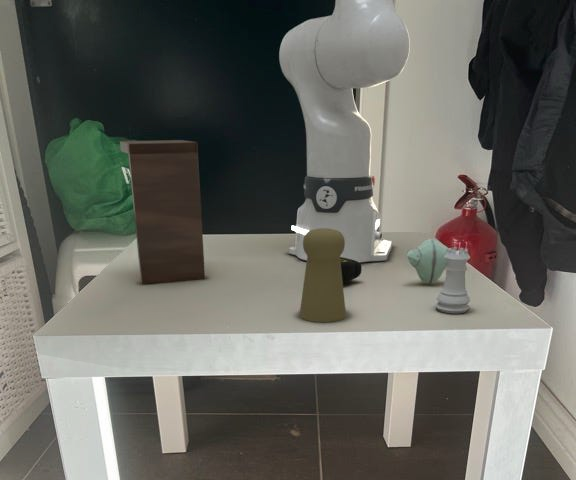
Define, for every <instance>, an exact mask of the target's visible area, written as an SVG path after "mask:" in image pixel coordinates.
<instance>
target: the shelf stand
mask: <svg viewBox="0 0 576 480" xmlns="http://www.w3.org/2000/svg"><path fill="white" fill-rule="evenodd" d="M119 146H120V147H119V148H120V152H121V153H125V154H126V155H128V164H129V174H130V184H131V186H130V187H131V194H132V195H131V196H132V205H133V216H134V225H135V227H134V228H135V237H136V247H137V257H138V258H137V259H138V268H139V278H140V283H141V285H150V284H161V283H173V282H183V281H192V280H193V281H194V280H195V281H196V280H205V279H206V272H205V271H206V270H205V255H204V237H203V235H204V233H203V220H202V217H203V216H202V202H201V201H202V200H201V186H200V185H201V183H200V168H199V167H200V166H199V148H198V142H197V141H192V140H184V139H172V140H171V139H170V140H168V139H167V140H166V139H165V140H164V139H163V140H120V141H119Z"/></svg>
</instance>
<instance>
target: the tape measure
mask: <svg viewBox="0 0 576 480" xmlns="http://www.w3.org/2000/svg"><path fill="white" fill-rule="evenodd" d="M340 262H341V272H342V281H343V284H344V283H345V284H346V283H349V282H351V281H352V280H354V279H357V278H359V277H360V276H361V274H362V264H361V262H360V263H359V262H357V261H355V260H352V259H348V258H343V257H340Z"/></svg>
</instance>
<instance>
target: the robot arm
mask: <svg viewBox="0 0 576 480" xmlns="http://www.w3.org/2000/svg"><path fill="white" fill-rule="evenodd" d="M334 3H335V4H334V9H333V12H332V14H331V15H327V16H321V17H316V18H310V19H307V20H305V21H303V22H302V23H300V24H298V25H297V26H294V27H293V28H292V29H290V30H288V32H286V33H285V35H284V36H283V38H282V40H281V43H280V47H279V54H278V59H279V65H280V69H281V72H282V74H283V76H284V77H285V78H286V80H287V81H288V82H289V83H290V84H291V86H292V87H293V89H294V91H295V93H296V95H297V99H298V102H299V105H300V108H301V112H302V116H303V121H304V126H305V136H306V137H305V139H306V140H305V141H306V175H305V177H304V182H303V197H304V198H305V200H304V202H303V203H302V205H300V206H299V207H298V209H297V214H296V224H295V225H291V231H294V232H295V241H294V242H295V243H294V245H293V246H290V247H289V248H288V254H290V255H293V256H296V257H297V258H298V259H300V260H302V261H306V262H307V255H306V253H305V252H304V248H303V239H304V236H305V235H306V233H307V232H309V231H310V230H314V229H321V228H327V229H334V230H337V231H339V232H341V233H342V235H343V236H344V240H345V247H344V251H343V252H342V254H341V255H340V257H343V258H348V259H352V260H355V261H357V262H359V263H360V264H361V263H367V262H384V261H387V260H388V258H389V255H390V253H391V251H392V248H393V242H392V240H387V239H382V238H383V234H382V216H381V214H380V212H379V210H378V208H377V206H376V204H375V202H374V200H373V196H374V188H375V184H376V179H375V175H374V176H373V175H371V158H372V154H371V153H372V135H373V134H372V128H371V126H370V124H369V122H368V121H367V120H366V119H365V118H364V117H362V115H361V114H360V112H359V110H358V108H357V105H356V102H355V98H354V91H353V89H365V88H374V87H377V86H378V85H381V84H384V83H386V82H389V81H392V80H394V79H396V78H397V77H398V76H399V75H400V74H401V73H402V72H403V70H404V69H405V67H406V65H407V62H408V59H409V55H410V51H411V50H410V49H411V39H410V34H409V31H408V30H409V29H408V27H407V26H406V23H405V21H404V20H403V18H402V17H401V16H400V15H399V14H398V12H397V10H396V8H395V4H394V0H335V2H334Z"/></svg>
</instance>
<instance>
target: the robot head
mask: <svg viewBox="0 0 576 480" xmlns="http://www.w3.org/2000/svg"><path fill="white" fill-rule="evenodd" d="M447 252H448V246H446V245H443V243H441V242H440V241H439V240H437V239H432V238H429V239H426V240H424V241H423V242H421V244H420V245H418V246H417V247H415V248H414V249H411V250H408V251H407V254H406V257H407V260H408V262H409V263H410V265H411V266H412V267H413V268H414V269H415V271H416V274H417V276H418V278H419V279H420V280H421V282H423V283H425V284H427V285H432V284H435V283H436V282H438V280H439V279H440V278H441V277H442V275H443V273H444V271H445V270H446V269H445V267H446V266H447V261H446V259H445V257H444V256H445V255H446V254H447Z"/></svg>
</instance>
